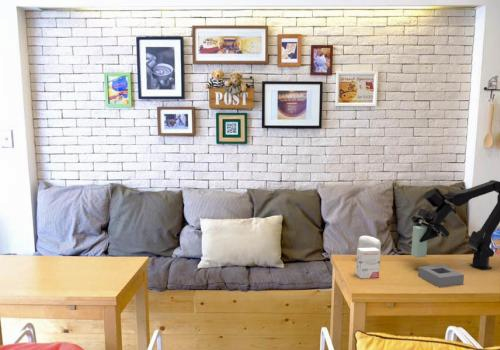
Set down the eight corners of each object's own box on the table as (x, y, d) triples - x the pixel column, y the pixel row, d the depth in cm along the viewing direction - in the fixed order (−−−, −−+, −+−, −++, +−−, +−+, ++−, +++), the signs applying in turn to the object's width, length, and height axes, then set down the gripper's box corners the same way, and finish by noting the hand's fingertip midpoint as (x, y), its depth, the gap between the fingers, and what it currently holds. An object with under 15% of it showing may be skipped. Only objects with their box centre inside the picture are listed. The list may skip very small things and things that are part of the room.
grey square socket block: (441, 273, 176) (441, 264, 176) (463, 284, 165) (464, 274, 164) (418, 275, 173) (418, 266, 172) (439, 287, 161) (439, 277, 161)
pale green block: (420, 254, 182) (422, 225, 180) (426, 256, 179) (428, 227, 177) (411, 255, 180) (413, 226, 179) (416, 257, 177) (418, 228, 175)
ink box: (374, 273, 175) (376, 246, 173) (379, 277, 170) (381, 250, 168) (355, 274, 173) (356, 247, 172) (359, 278, 169) (361, 251, 167)
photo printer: (380, 264, 186) (382, 238, 184) (376, 266, 183) (378, 240, 181) (360, 258, 193) (362, 233, 191) (355, 260, 190) (357, 235, 188)
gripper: (415, 198, 186) (393, 223, 184) (446, 206, 168) (421, 234, 167) (428, 213, 189) (407, 238, 188) (459, 224, 172) (436, 251, 170)
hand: (417, 240), depth 178 cm, fingers closed on pale green block, 3 cm apart
